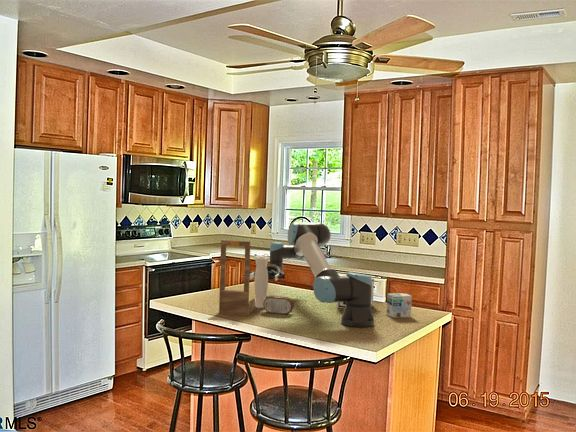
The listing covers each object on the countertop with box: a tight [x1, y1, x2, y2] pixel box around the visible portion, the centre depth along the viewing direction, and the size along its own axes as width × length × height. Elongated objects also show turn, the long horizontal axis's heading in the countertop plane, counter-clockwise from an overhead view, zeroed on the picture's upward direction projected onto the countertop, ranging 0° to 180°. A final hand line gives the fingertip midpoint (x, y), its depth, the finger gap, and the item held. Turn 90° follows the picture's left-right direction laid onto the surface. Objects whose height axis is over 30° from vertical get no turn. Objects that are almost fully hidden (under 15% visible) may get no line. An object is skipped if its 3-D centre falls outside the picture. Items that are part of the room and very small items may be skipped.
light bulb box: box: [385, 292, 413, 318], centre depth 273 cm, size 11×7×11 cm, turn 105°
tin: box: [263, 295, 294, 315], centre depth 270 cm, size 15×3×8 cm, turn 74°
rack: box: [218, 239, 256, 317], centre depth 270 cm, size 15×14×36 cm
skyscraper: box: [253, 253, 270, 310], centre depth 282 cm, size 8×8×28 cm
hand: (262, 277), depth 286 cm, fingers open, 13 cm apart
